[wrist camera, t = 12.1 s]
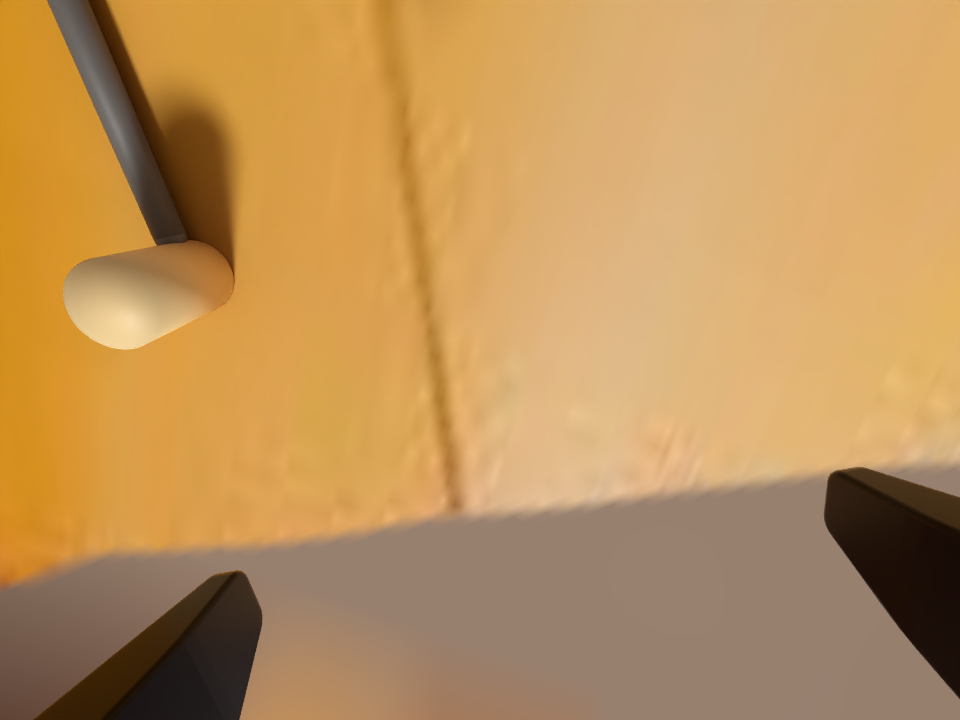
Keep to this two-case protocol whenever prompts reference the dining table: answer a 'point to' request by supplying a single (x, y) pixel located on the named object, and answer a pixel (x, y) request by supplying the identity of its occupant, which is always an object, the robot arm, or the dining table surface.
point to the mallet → (175, 260)
